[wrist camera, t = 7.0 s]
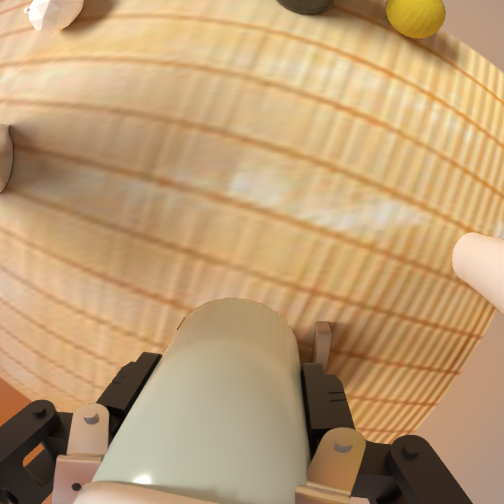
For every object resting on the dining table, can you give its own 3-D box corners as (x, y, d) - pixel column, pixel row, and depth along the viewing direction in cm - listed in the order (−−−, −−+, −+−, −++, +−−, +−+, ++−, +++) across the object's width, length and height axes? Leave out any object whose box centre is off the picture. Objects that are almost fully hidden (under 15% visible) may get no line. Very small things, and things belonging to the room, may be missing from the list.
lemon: (390, 0, 19) (417, -37, 11) (430, 33, 20) (466, 4, 12) (366, 22, 20) (391, -18, 12) (409, 58, 21) (446, 27, 13)
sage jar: (168, 293, 12) (22, 470, 3) (305, 297, 12) (356, 536, 2) (182, 394, 14) (117, 556, 4) (295, 401, 13) (303, 583, 4)
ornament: (83, 33, 22) (21, 41, 16) (70, 25, 23) (17, 32, 18) (99, -19, 17) (33, -16, 11) (83, -19, 19) (28, -16, 13)
